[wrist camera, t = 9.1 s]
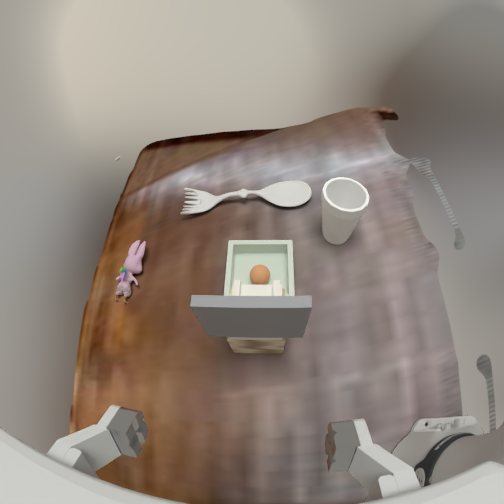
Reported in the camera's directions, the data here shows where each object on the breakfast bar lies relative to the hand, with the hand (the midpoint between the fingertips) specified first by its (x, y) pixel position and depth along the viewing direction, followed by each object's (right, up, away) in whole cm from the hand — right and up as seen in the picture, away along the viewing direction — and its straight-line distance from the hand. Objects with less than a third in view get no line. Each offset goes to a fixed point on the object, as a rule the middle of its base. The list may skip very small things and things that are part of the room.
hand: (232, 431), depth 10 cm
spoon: (0, +20, +61) cm, 64 cm away
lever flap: (+2, -2, +34) cm, 34 cm away
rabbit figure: (-26, +2, +51) cm, 57 cm away
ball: (+2, +3, +46) cm, 46 cm away
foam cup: (+20, +12, +53) cm, 58 cm away
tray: (+3, +2, +48) cm, 48 cm away
